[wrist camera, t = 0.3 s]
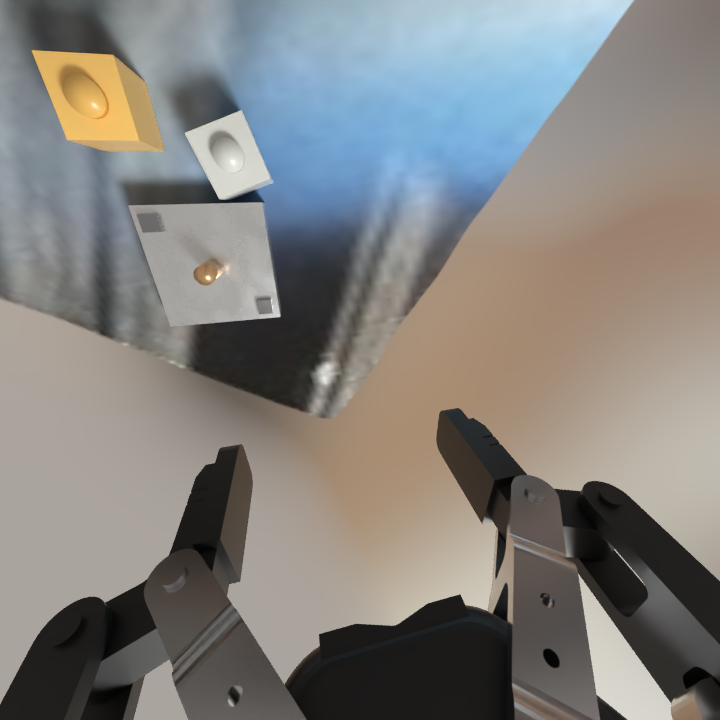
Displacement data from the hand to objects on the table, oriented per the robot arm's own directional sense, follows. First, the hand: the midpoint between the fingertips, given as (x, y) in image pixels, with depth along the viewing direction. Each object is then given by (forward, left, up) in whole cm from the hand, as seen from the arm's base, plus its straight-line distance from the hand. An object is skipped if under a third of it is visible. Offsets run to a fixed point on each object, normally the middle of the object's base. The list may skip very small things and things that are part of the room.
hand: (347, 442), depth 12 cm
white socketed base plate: (-3, -10, -29) cm, 30 cm away
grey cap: (-12, -6, -29) cm, 32 cm away
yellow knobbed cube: (-16, -15, -29) cm, 36 cm away
